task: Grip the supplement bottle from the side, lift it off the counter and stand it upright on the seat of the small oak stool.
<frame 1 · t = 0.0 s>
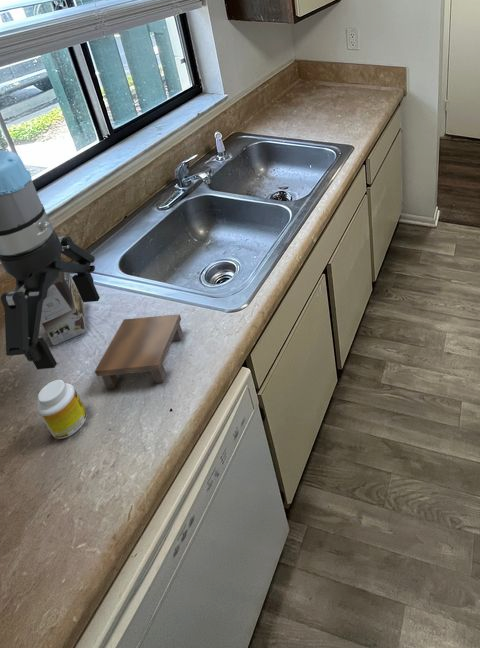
hand: (71, 331, 80), 19 cm above the worktop, tool pointing down, fingers open, 13 cm apart
supplement bottle: (71, 424, 83), on the worktop
coffee box: (70, 325, 103), on the worktop
stool: (147, 359, 94), on the worktop
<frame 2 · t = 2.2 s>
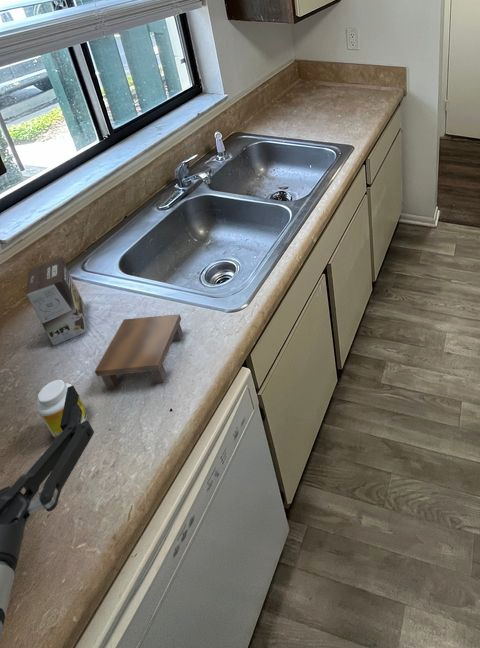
hand: (20, 412, 68), 18 cm above the worktop, tool horizontal, fingers open, 13 cm apart
nothing on the worktop moved.
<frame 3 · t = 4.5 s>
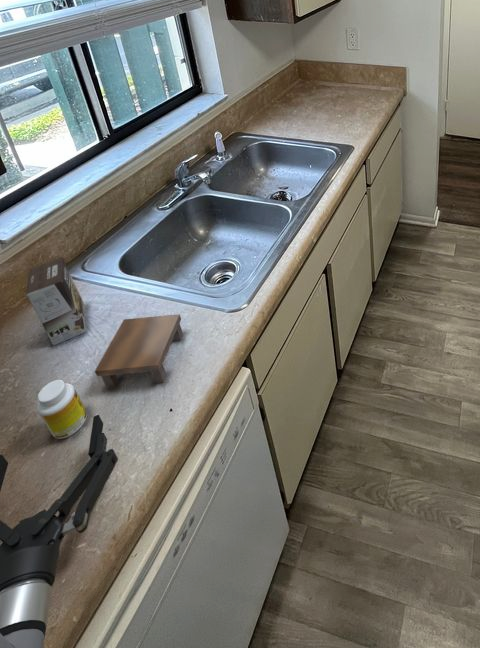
hand: (52, 438, 75), 6 cm above the worktop, tool horizontal, fingers open, 13 cm apart
nothing on the worktop moved.
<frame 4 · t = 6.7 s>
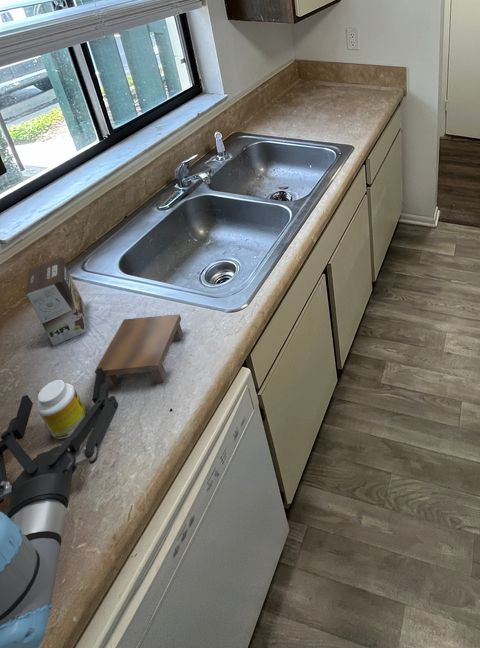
hand: (65, 385, 83), 6 cm above the worktop, tool horizontal, fingers open, 11 cm apart
nothing on the worktop moved.
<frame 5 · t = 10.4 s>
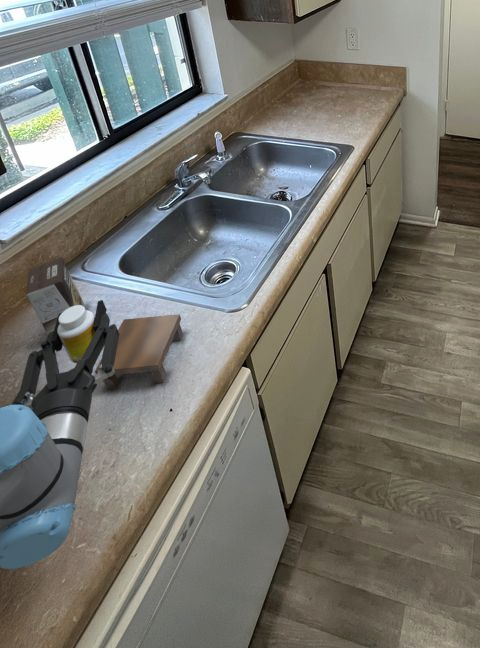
hand: (83, 311, 84), 18 cm above the worktop, tool horizontal, fingers closed on supplement bottle, 6 cm apart
supplement bottle: (89, 352, 83), point 12 cm above the worktop, touching gripper
everything else where it was.
when the fingers open (12 cm above the worktop, at t = 13.5 s): supplement bottle stays where it is, resting on stool.
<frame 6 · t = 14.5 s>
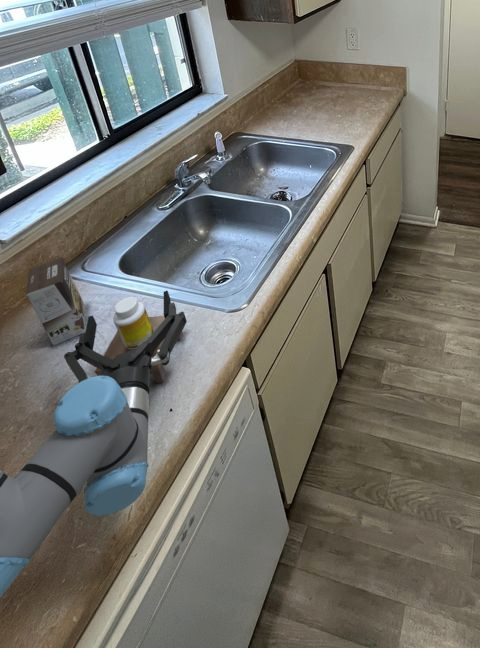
hand: (131, 307, 91), 13 cm above the worktop, tool horizontal, fingers open, 13 cm apart
supplement bottle: (139, 339, 92), point 6 cm above the worktop, touching stool
everything else where it was.
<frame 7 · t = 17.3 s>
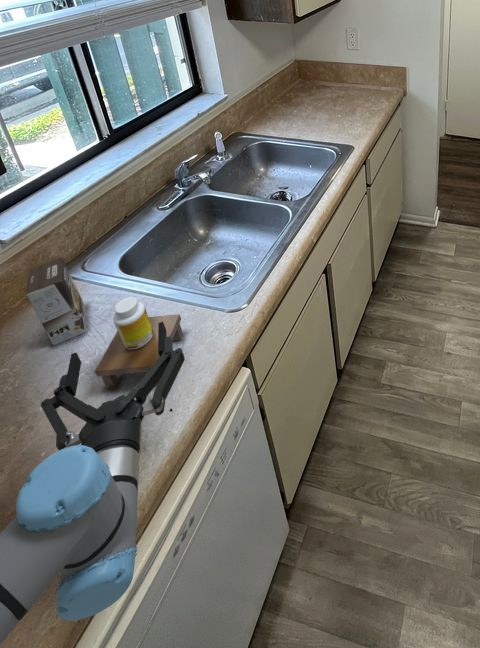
hand: (120, 341, 80), 17 cm above the worktop, tool horizontal, fingers open, 13 cm apart
nothing on the worktop moved.
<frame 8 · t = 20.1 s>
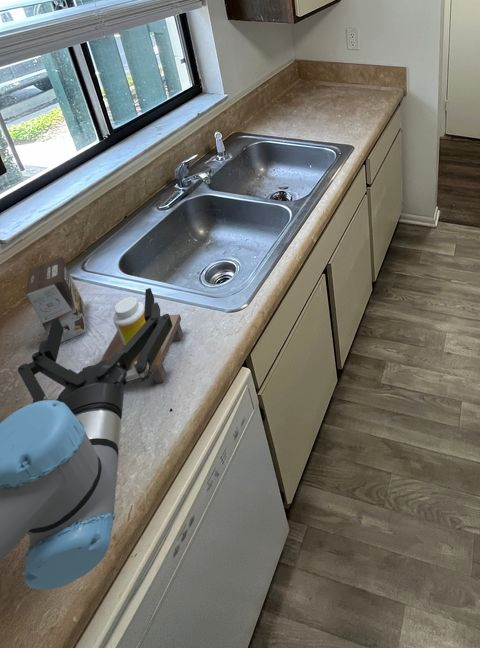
hand: (105, 308, 75), 26 cm above the worktop, tool horizontal, fingers open, 13 cm apart
nothing on the worktop moved.
at the end: supplement bottle inside the target area on the stool (0.7 cm from its centre), point 5.8 cm above the stool's base; supplement bottle tilted 0°; the gripper is holding nothing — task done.
